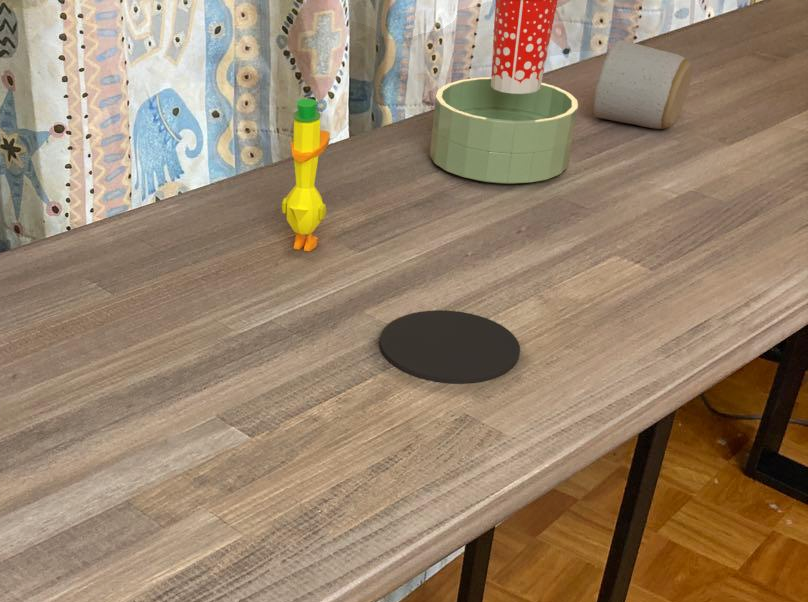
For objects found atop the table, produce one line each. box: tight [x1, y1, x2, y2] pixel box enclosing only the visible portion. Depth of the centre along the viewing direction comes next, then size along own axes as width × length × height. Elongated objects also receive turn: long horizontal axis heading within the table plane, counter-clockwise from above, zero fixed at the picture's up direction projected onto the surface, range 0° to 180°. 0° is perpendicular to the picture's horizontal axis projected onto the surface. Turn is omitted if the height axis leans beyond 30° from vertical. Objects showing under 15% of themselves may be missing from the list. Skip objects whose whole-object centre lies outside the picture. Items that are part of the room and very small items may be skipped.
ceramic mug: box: [592, 39, 693, 130], centre depth 118 cm, size 11×8×8 cm
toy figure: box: [281, 98, 331, 252], centre depth 91 cm, size 7×4×12 cm, turn 159°
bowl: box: [429, 76, 579, 185], centre depth 108 cm, size 13×13×6 cm
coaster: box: [379, 309, 521, 384], centre depth 81 cm, size 10×10×1 cm
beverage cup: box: [491, 0, 559, 94], centre depth 101 cm, size 6×6×14 cm
